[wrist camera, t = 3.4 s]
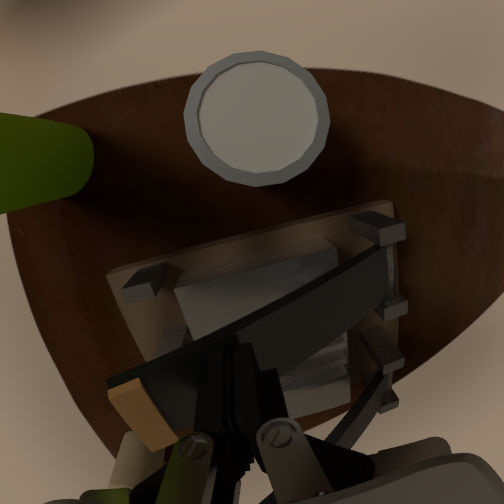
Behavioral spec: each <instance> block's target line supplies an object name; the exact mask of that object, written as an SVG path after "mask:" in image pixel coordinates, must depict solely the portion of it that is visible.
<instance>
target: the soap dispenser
mask: <svg viewBox="0 0 504 504" xmlns="http://www.w3.org/2000/svg"><path fill="white" fill-rule="evenodd" d="M93 165H94V147H93V143H92V141H91V138H90V137H89V135H88V134H87V132H86V131H85V130H84V129H82V128H80V127H78V126H75V125H70V124H65V123H60V122H55V121H50V120H45V119H39V118H33V117H27V116H20V115H14V114H7V113H0V214H4V213H7V212H10V211H14V210H17V209H21V208H24V207H28V206H32V205H36V204H39V203H43V202H47V201H51V200H55V199H60V198H64V197H68V196H72V195H74V194H76V193H77V192H79V191H80V190H81V189H82V188H83V187H84V185H85V184H86V183H87V181H88V179H89V177H90V175H91V173H92V169H93Z"/></svg>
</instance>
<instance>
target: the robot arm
mask: <svg viewBox="0 0 504 504" xmlns="http://www.w3.org/2000/svg"><path fill="white" fill-rule="evenodd" d="M254 457H255V459H256V461H257V463H258V464H259V466H260V468H261V470H262V471H263V472H264V473H266V474H268V477H269V480H270V483H271V485H272V488H273V491H274V494H275V497H276V499H277V502H278V504H504V482H503V481H502V480H501V478H500V477H499V476H498V475H497V473H496V472H495V471H494V470H493V468H492V467H491V466H490V465H489V464H488V463H487V462H486V461H485V460H483V459H482V458H481V457H479V456H477V455H474V454H471V453H456V454H452V452H451V449H450V446H449V444H448V442H447V441H446V440H444V439H443V438H440V437H430V438H427V439H424V440H420V441H417V442H413V443H409V444H406V445H402V446H398V447H394V448H389V449H385V450H381V451H378V453H376V454H371V455H365V454H363V453H360V452H357V451H353V450H350V449H347V448H344V447H341V446H338V445H335V444H332V443H329V442H326V441H323V440H320V439H318V438H315V437H312V436H310V435H307V434H304V433H303V431H302V429H301V427H300V425H299V424H298V423H297V422H296V421H294V420H292V419H289V415H288V411H287V407H286V402H285V398H284V394H283V390H282V386H281V382H280V379H279V375H278V372H277V368H273V369H269V370H265V371H260V368H259V365H258V362H257V359H256V356H255V353H254V350H253V347H252V344H251V342H247V343H243V344H238V345H237V349H233V356H232V354H231V351H230V350H227V351H226V350H225V348H220V349H216V350H211V351H210V361H209V372H208V382H206V383H200V384H199V385H198V391H197V400H196V409H195V418H194V427H193V432H191V433H188V434H185V435H183V436H182V437H180V438H179V439H178V440H177V441H176V443H175V445H174V447H173V450H172V453H171V456H170V459H169V462H168V463H167V464H165V465H164V466H163V467H161V468H160V469H159V470H157V471H156V472H155V473H153V474H152V475H150V476H149V477H148V478H146V479H145V480H143V481H142V482H140V483H139V484H138V485H136V486H135V487H134V488H133V489H130V488H128V487H126V488H115V489H101V490H88V491H86V492H84V493H83V494H82V495H81V496H80V499H79V500H77V499H60V500H53V501H50V502H47V503H44V504H238V503H239V495H240V487H241V481H240V479H241V478H242V477H243V476H244V475H245V471H250V464H251V463H254Z"/></svg>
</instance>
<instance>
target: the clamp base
mask: <svg viewBox="0 0 504 504" xmlns="http://www.w3.org/2000/svg"><path fill="white" fill-rule="evenodd" d="M405 239H406V231H405V222H402V221H400V220H397V219H394V211H393V203H392V202H391V201H387V200H378V201H374V202H370V203H365V204H361V205H357V206H353V207H348V208H344V209H340V210H336V211H331V212H327V213H323V214H319V215H315V216H311V217H307V218H302V219H298V220H294V221H290V222H286V223H282V224H278V225H274V226H270V227H266V228H262V229H258V230H254V231H251V232H247V233H243V234H239V235H235V236H231V237H227V238H224V239H220V240H216V241H212V242H208V243H205V244H201V245H197V246H193V247H190V248H186V249H182V250H178V251H175V252H171V253H167V254H164V255H160V256H157V257H153V258H149V259H146V260H142V261H139V262H135V263H131V264H128V265H124V266H121V267H117V268H114V269H112V270H111V271H110V272H109V273H108V274H107V275H106V277H107V280H108V282H109V285H110V287H111V290H112V292H113V294H114V297H115V299H116V301H117V304H118V306H119V308H120V310H121V312H122V315H123V317H124V319H125V321H126V323H127V325H128V327H129V329H130V332H131V334H132V336H133V338H134V340H135V342H136V344H137V345H138V347H139V349H140V351H141V353H142V355H143V357H144V359H145V361H146V362H148V361H151V360H153V359H155V358H158V357H160V356H162V355H164V354H167V353H169V352H171V351H173V350H175V349H178V348H180V347H182V346H184V345H186V344H188V343H191V342H193V341H195V340H197V339H199V338H201V337H203V336H205V335H208V334H210V333H212V332H214V331H216V330H218V329H220V328H222V327H224V326H226V325H228V324H230V323H232V322H234V321H236V320H238V319H240V318H242V317H244V316H246V315H248V314H250V313H252V312H254V311H256V310H258V309H260V308H262V307H264V306H266V305H268V304H269V303H271V302H273V301H275V300H277V299H279V298H281V297H283V296H285V295H286V294H288V293H290V292H292V291H294V290H296V289H298V288H299V287H301V286H303V285H305V284H307V283H309V282H310V281H312V280H314V279H316V278H318V277H319V276H321V275H323V274H325V273H326V272H328V271H330V270H332V269H334V268H335V267H337V266H339V265H341V264H342V263H344V262H346V261H347V260H349V259H351V258H353V257H354V256H356V255H358V254H359V253H361V252H363V251H364V250H366V249H368V248H369V247H371V246H373V245H374V244H377V245H379V246H380V247H381V246H384V245H388V244H391V243H393V248H394V263H395V286H396V297H395V298H394V299H392V300H385V301H384V302H383V303H382V304H380V305H379V306H378V307H377V308H376V309H374V310H373V311H372V312H371V313H369V314H368V315H367V316H366V317H364V318H363V319H362V320H361V321H359V322H358V323H357V324H355V325H354V326H353V327H351V328H350V329H349V330H348V331H346V332H345V333H344V334H342V335H341V336H339V337H338V338H337V339H335V340H334V341H333V342H331V343H330V344H328V345H327V346H326V347H324V348H323V349H321V350H320V351H318V352H317V353H316V354H314V355H313V356H311V357H310V358H308V359H307V360H305V361H304V362H302V363H301V364H299V365H298V366H296V367H295V368H293V369H292V370H290V371H288V372H287V373H285V374H284V375H282V376H280V377H279V379H280V382H281V386H282V390H283V394H284V398H285V402H286V407H287V411H288V415H289V419H294V418H298V417H302V416H306V415H310V414H313V413H317V412H320V411H324V410H327V409H330V408H334V407H337V406H340V405H343V404H346V403H349V402H351V398H350V385H353V384H356V383H359V382H362V383H363V384H364V386H365V388H366V387H367V386H368V384H369V383H370V381H371V380H372V378H373V377H374V376H375V374H376V373H377V371H378V370H380V371H381V373H382V374H383V375H385V374H388V373H390V372H393V371H395V370H397V369H400V368H402V367H404V360H405V357H404V356H403V354H402V353H401V352H400V351H399V349H398V332H399V317H400V316H402V315H405V314H407V313H408V300H407V299H406V298H405V297H403V296H402V295H401V294H400V293H399V274H398V254H397V242H398V241H401V240H405ZM398 404H399V399H398V397H397V396H396V394H395V392H394V391H393V389H392V388H391V395H390V397H389V398H387V399H385V401H384V402H383V404H382V406H381V407H380V409H379V410H378V412H379V414H382V413H385V412H387V411H389V410H391V409H394V408H396V407H398Z"/></svg>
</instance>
